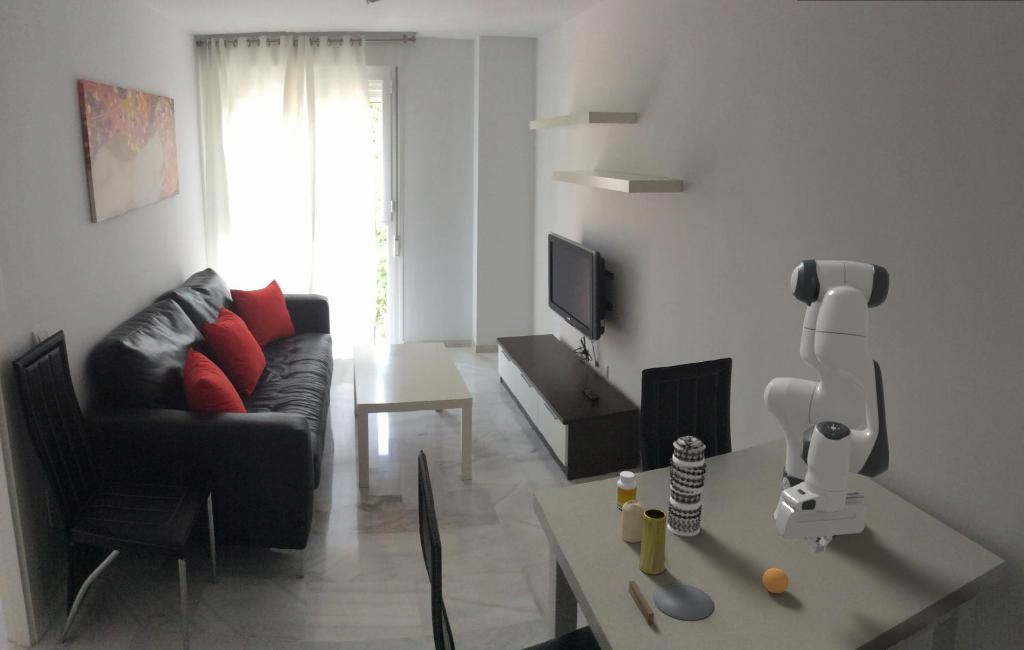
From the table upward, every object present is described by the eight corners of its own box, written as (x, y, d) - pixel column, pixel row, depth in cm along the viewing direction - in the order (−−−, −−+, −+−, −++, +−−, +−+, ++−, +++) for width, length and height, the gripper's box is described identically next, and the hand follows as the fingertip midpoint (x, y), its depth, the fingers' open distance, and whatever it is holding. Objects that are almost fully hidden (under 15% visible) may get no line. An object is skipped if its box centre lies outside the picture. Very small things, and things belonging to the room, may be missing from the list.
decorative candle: (674, 538, 192) (680, 448, 186) (660, 521, 201) (665, 434, 194) (707, 535, 194) (714, 445, 187) (691, 517, 202) (698, 431, 196)
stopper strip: (633, 590, 170) (634, 580, 170) (653, 623, 159) (654, 613, 158) (628, 591, 170) (629, 581, 169) (648, 624, 159) (648, 614, 158)
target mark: (698, 581, 174) (698, 581, 174) (724, 616, 161) (724, 615, 161) (645, 587, 171) (645, 587, 171) (667, 623, 159) (667, 622, 159)
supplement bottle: (636, 511, 206) (638, 478, 203) (617, 510, 206) (618, 478, 203) (634, 501, 211) (635, 470, 209) (615, 501, 211) (616, 469, 209)
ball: (779, 582, 173) (781, 561, 172) (791, 597, 168) (794, 575, 167) (757, 585, 172) (759, 564, 171) (769, 599, 167) (771, 578, 166)
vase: (636, 561, 182) (639, 507, 178) (660, 560, 182) (664, 507, 179) (642, 575, 176) (645, 520, 172) (667, 574, 177) (671, 519, 173)
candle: (642, 544, 189) (644, 508, 187) (620, 541, 190) (622, 506, 188) (643, 533, 195) (645, 498, 192) (621, 530, 196) (623, 495, 193)
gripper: (857, 485, 171) (849, 541, 174) (775, 491, 167) (769, 547, 170) (875, 498, 165) (867, 555, 168) (791, 504, 161) (784, 562, 164)
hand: (817, 551), depth 169 cm, fingers closed
